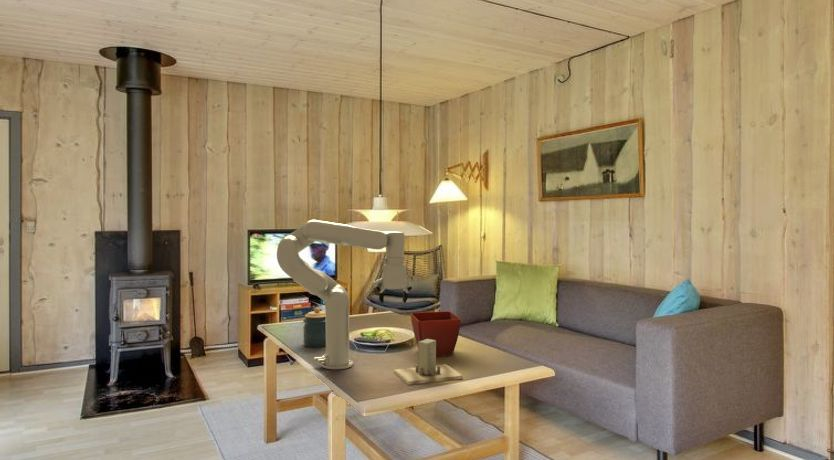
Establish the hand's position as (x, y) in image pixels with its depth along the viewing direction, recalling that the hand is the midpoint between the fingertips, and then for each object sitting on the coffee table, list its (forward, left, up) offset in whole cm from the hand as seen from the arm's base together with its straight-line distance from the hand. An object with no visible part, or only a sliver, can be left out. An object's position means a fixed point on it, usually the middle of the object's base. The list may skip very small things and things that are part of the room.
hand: (393, 302), depth 222 cm
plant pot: (+22, +9, -26) cm, 35 cm away
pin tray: (+7, -21, -25) cm, 34 cm away
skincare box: (+7, -21, -24) cm, 33 cm away
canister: (-25, +42, -26) cm, 55 cm away
